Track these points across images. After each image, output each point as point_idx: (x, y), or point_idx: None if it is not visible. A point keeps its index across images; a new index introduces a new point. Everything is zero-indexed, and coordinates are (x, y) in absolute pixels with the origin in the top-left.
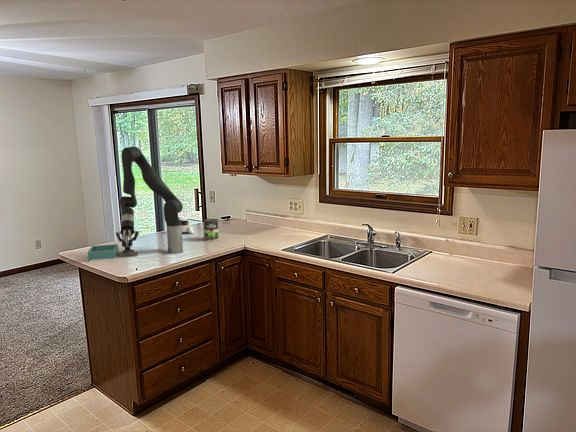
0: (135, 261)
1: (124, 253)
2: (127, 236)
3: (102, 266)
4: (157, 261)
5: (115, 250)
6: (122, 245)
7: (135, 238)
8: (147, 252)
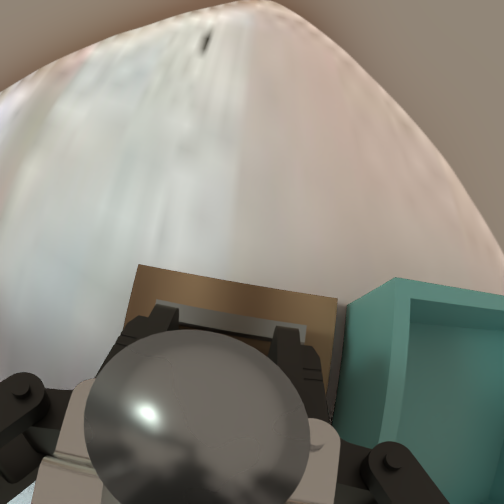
0: (177, 171)
1: (264, 319)
2: (167, 332)
3: (412, 158)
4: (55, 124)
5: (384, 329)
6: (304, 350)
7: (19, 447)
8: None
